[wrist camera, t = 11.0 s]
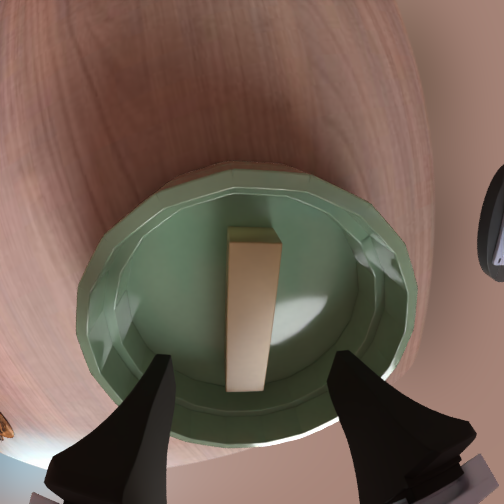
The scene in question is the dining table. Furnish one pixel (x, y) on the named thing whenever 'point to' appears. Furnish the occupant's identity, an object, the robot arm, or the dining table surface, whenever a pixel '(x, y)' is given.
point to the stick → (249, 305)
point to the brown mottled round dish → (5, 429)
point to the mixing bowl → (213, 299)
